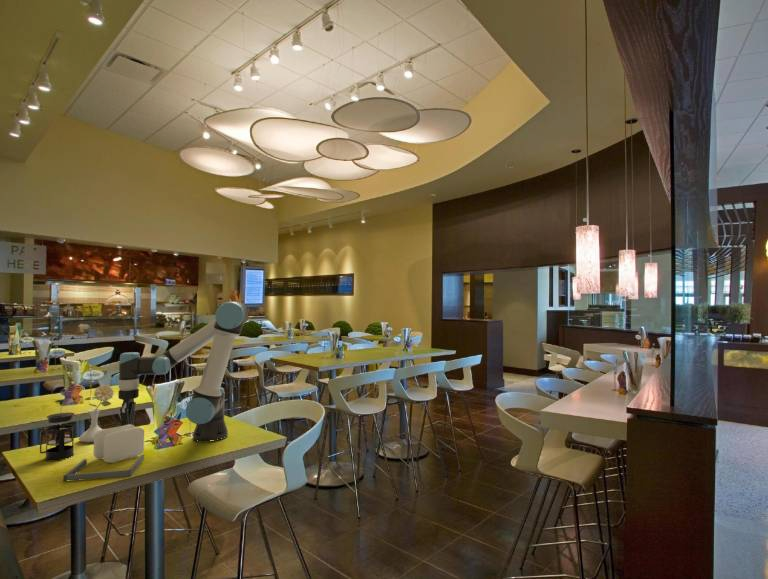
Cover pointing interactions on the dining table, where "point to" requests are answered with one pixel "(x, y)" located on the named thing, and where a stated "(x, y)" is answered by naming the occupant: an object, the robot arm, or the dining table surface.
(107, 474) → the frame
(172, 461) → the dining table surface
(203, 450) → the dining table surface
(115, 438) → the white napkin holder
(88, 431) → the flower in vase
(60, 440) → the french press
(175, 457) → the dining table surface
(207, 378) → the robot arm
